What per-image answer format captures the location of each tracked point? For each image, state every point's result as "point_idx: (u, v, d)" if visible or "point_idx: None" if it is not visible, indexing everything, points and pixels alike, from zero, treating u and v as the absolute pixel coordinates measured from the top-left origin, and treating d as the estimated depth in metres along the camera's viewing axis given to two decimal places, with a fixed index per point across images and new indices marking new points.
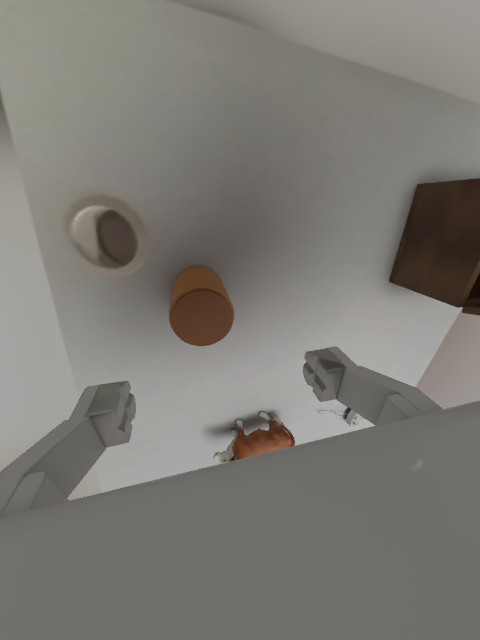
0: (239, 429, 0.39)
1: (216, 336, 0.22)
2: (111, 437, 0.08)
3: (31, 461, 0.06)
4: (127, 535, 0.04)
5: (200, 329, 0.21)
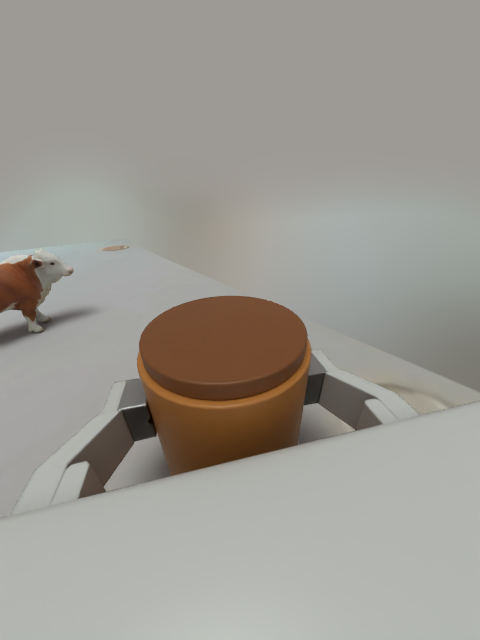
0: (32, 315, 0.23)
1: (167, 320, 0.09)
2: (140, 431, 0.08)
3: (72, 452, 0.06)
4: (127, 535, 0.04)
5: (214, 315, 0.09)
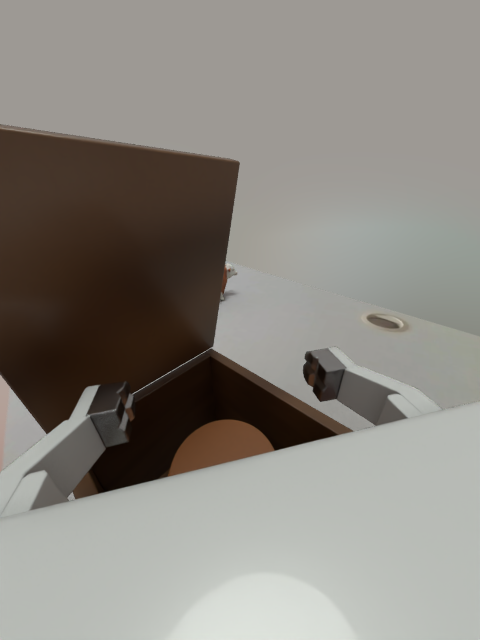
0: (223, 292, 0.53)
1: (184, 457, 0.12)
2: (111, 437, 0.08)
3: (31, 461, 0.06)
4: (127, 535, 0.04)
5: (217, 450, 0.13)
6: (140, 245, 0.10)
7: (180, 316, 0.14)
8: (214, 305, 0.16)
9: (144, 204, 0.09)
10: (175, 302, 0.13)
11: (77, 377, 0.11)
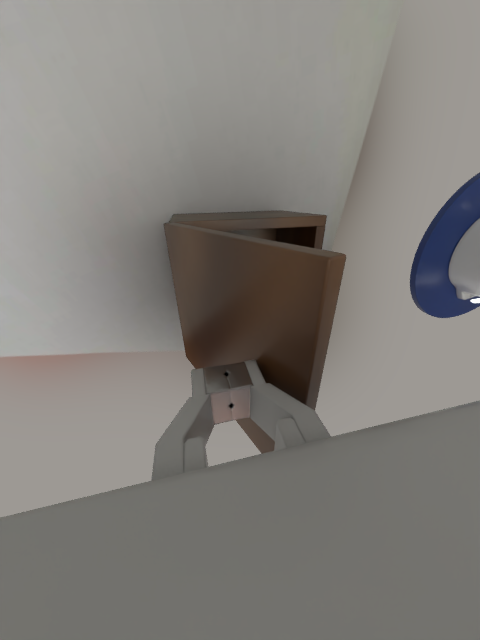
0: None
1: None
2: (220, 415, 0.09)
3: (182, 429, 0.07)
4: (127, 535, 0.04)
5: None
6: None
7: None
8: None
9: None
10: None
11: None
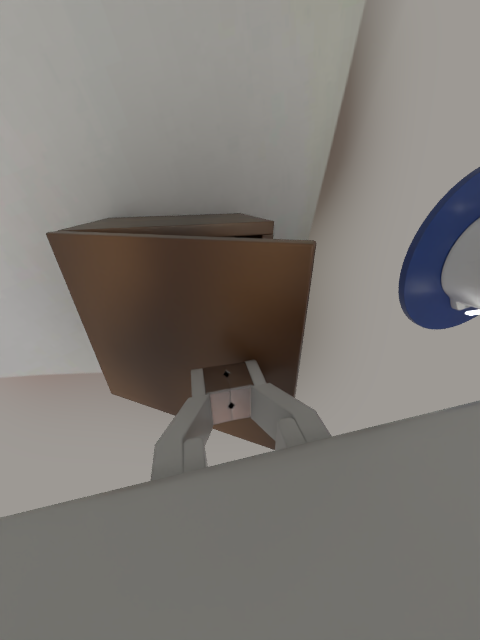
0: None
1: None
2: (220, 415, 0.09)
3: (182, 430, 0.07)
4: (127, 535, 0.04)
5: None
6: None
7: None
8: None
9: None
10: None
11: None
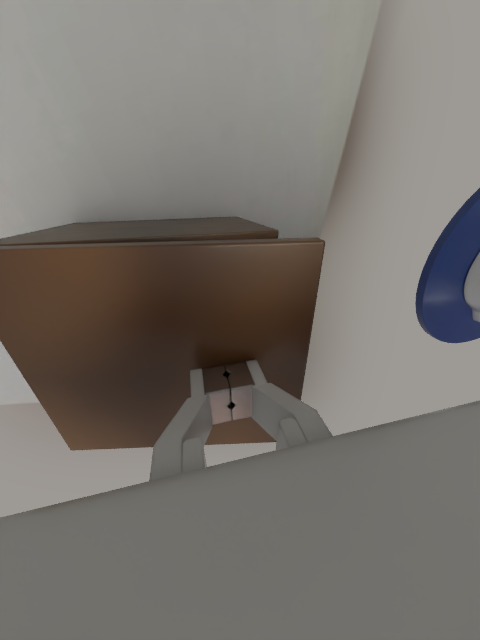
0: None
1: None
2: (219, 415, 0.09)
3: (180, 430, 0.07)
4: (127, 535, 0.04)
5: None
6: None
7: None
8: None
9: None
10: None
11: None
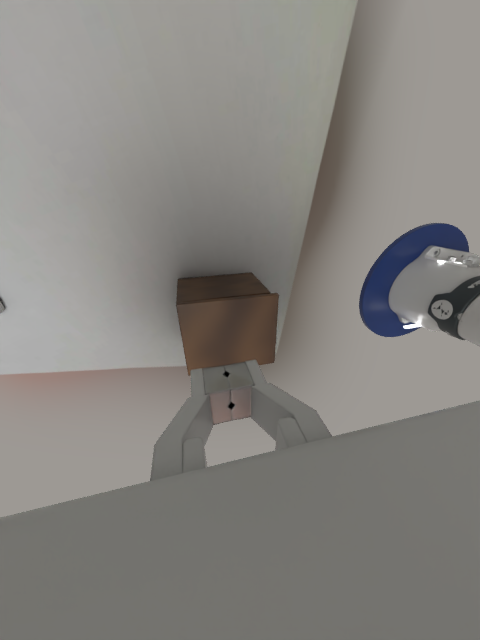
0: None
1: None
2: (219, 415, 0.09)
3: (181, 430, 0.07)
4: (127, 535, 0.04)
5: None
6: None
7: None
8: None
9: None
10: None
11: None
